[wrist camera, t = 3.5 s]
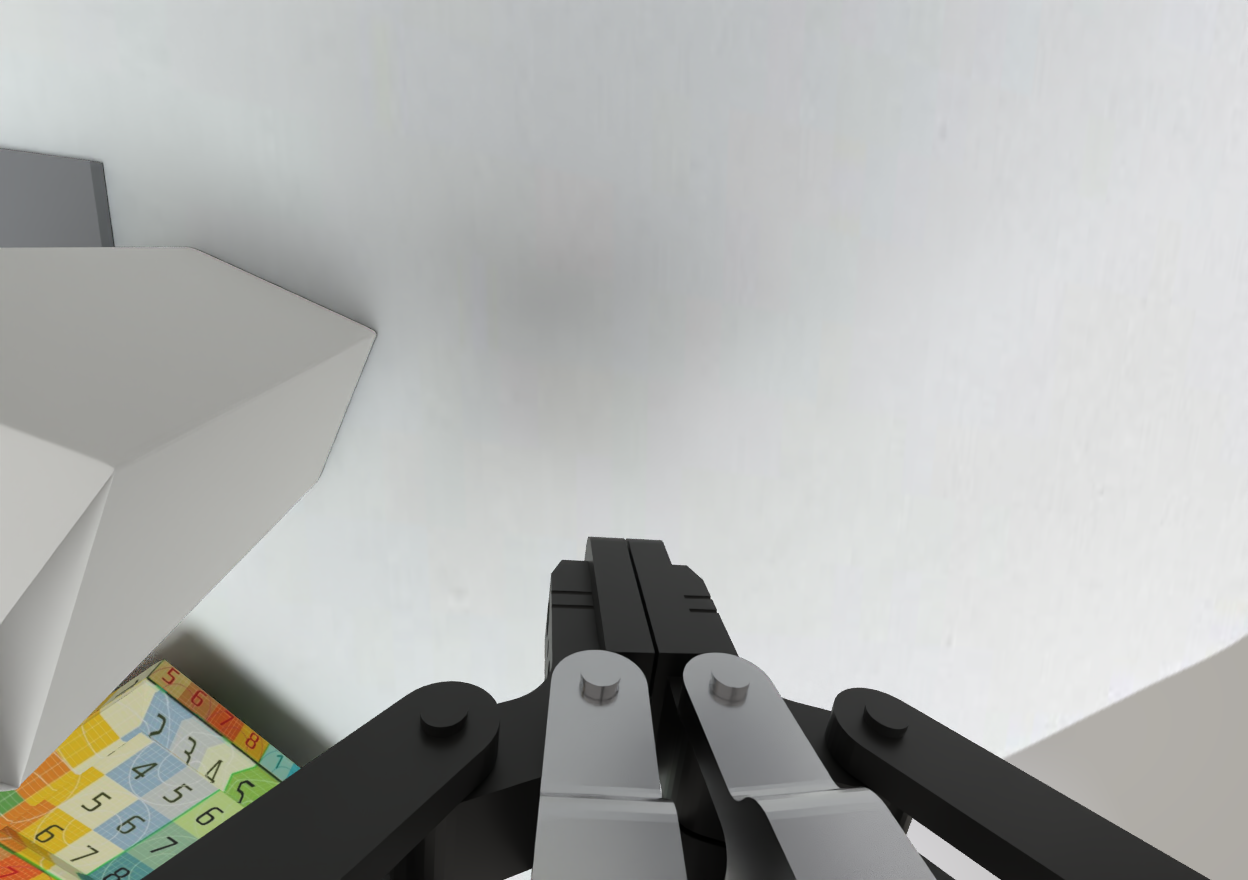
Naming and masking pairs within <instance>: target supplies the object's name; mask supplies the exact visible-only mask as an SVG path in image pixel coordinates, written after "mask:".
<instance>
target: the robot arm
mask: <svg viewBox="0 0 1248 880" xmlns="http://www.w3.org/2000/svg"><path fill="white" fill-rule="evenodd" d="M659 780H660V781H659ZM660 785H661V789H660ZM912 818H913V819H915V820H916V821H918V822H919V823H921V824H922V825H923V826H925V827H927V828H928V829H929V830H931V831H932V832H933V833H935V834H936V835H938V836H939V837H941V838H942V839H944V840H945V841H946V842H948V843H949V844H951V845H952V846H953V847H955V848H956V849H958V850H959V851H961V852H962V853H963V854H965V855H966V856H968V857H969V858H971V859H972V860H973V861H975V862H976V863H978V864H979V865H981V866H982V867H983V868H985V869H986V870H988V871H989V872H991V873H992V874H993V875H995V876H997V877H998V878H999V879H1001V880H1210V879H1208V878H1207V877H1205V876H1203V875H1201V874H1200V873H1198V872H1196V871H1194V870H1193V869H1191V868H1189V867H1187V866H1186V865H1184V864H1182V863H1181V862H1179V861H1177V860H1175V859H1174V858H1172V857H1170V856H1169V855H1167V854H1165V853H1163V852H1162V851H1160V850H1158V849H1156V848H1155V847H1153V846H1151V845H1150V844H1148V843H1146V842H1144V841H1143V840H1141V839H1139V838H1137V837H1136V836H1134V835H1132V834H1131V833H1129V832H1127V831H1125V830H1123V829H1122V828H1120V827H1118V826H1117V825H1115V824H1113V823H1112V822H1109V821H1108V820H1106V819H1105V818H1103V817H1101V816H1099V815H1098V814H1096V813H1094V812H1092V811H1091V810H1089V809H1087V808H1086V807H1084V806H1082V805H1081V804H1079V803H1077V802H1075V801H1074V800H1072V799H1070V798H1068V797H1067V796H1065V795H1063V794H1062V793H1059V792H1058V791H1056V790H1055V789H1053V788H1051V787H1049V786H1047V785H1046V784H1044V783H1042V782H1041V781H1039V780H1037V779H1036V778H1034V777H1032V776H1030V775H1029V774H1027V773H1025V772H1024V771H1022V770H1020V769H1018V768H1017V767H1015V766H1013V765H1011V764H1010V763H1008V762H1006V761H1005V760H1003V759H1001V758H999V757H998V756H996V755H994V754H992V753H991V752H989V751H987V750H986V749H984V748H982V747H980V746H979V745H977V744H975V743H973V742H972V741H970V740H968V739H967V738H965V737H963V736H961V735H960V734H958V733H956V732H954V731H953V730H951V729H949V728H948V727H946V726H944V725H942V724H941V723H939V722H937V721H936V720H934V719H932V718H930V717H929V716H927V715H925V714H923V713H922V712H920V711H918V710H917V709H915V708H913V707H911V706H910V705H908V704H906V703H904V702H903V701H901V700H899V699H897V698H895V697H893V696H891V695H889V694H886V693H883V692H880V691H877V690H873V689H868V688H851V689H847V690H844V691H842V692H841V693H839V694H838V695H837V697H836V698H835V701H834V704H833V707H832V711H828V710H824V709H821V708H817V707H813V706H809V705H805V704H801V703H797V702H794V701H790V700H787V699H785V698H782V697H781V695H780V694H779V692H778V691H777V689H776V687H775V686H774V684H773V682H772V681H771V680H770V678H769V677H768V676H767V675H766V674H765V673H764V671H762V670H761V669H760V668H759V667H757V666H756V665H754V664H753V663H751V662H749V661H747V660H745V659H743V658H741V657H739V656H738V654H737V652H736V650H735V648H734V645H733V643H732V641H731V639H730V637H729V635H728V633H727V630H726V628H725V626H724V624H723V622H722V620H721V618H720V615H719V613H717V609H716V607H715V605H714V603H713V600H712V599H710V594H709V592H708V590H707V588H706V585H705V583H704V581H703V580H702V579H701V578H700V577H699V576H698V575H697V574H696V573H694V572H693V571H692V570H691V569H690V568H689V567H688V566H686V565H672V564H671V561H670V559H669V556H668V554H667V551H666V549H665V546H664V543H663V542H662V541H661V540H645V539H626V540H625V539H624V538H605V537H588V540H587V545H586V553H585V561H574V560H561V562H560V563H559V564H558V566H557V567H556V568H555V570H554V571H553V572H552V573H551V582H550V592H549V603H548V613H547V623H546V634H545V681H544V682H543V683H542V684H541V685H540V686H539V687H538V688H537V689H535V690H534V691H532V692H530V693H529V694H527V695H525V696H522V697H520V698H517V699H514V700H510V701H506V702H502V703H499V704H497V703H496V701H495V700H494V698H493V697H492V696H491V695H490V694H489V693H488V692H486V691H485V690H484V689H482V688H480V687H478V686H475V685H472V684H469V683H464V682H455V681H448V682H439V683H434V684H430V685H427V686H423V687H421V688H419V689H417V690H415V691H413V692H411V693H410V694H408V695H406V696H405V697H403V698H402V699H401V700H399V701H398V702H396V703H395V704H393V705H392V706H390V707H389V708H388V709H386V710H385V711H383V712H382V713H380V714H379V715H377V716H376V717H374V718H373V719H372V720H370V721H369V722H367V723H366V724H364V725H363V726H361V727H360V728H359V729H357V730H356V731H354V732H353V733H351V734H350V735H348V736H347V737H346V738H344V739H343V740H341V741H340V742H338V743H337V744H335V745H334V746H333V747H331V748H330V749H328V750H327V751H325V752H324V753H322V754H321V755H320V756H318V757H317V758H315V759H314V760H312V761H311V762H309V763H308V764H307V765H305V766H304V767H302V768H301V769H299V770H298V771H296V772H295V773H294V774H292V775H291V776H289V777H288V778H286V779H285V780H283V781H282V782H281V783H279V784H278V785H276V786H275V787H273V788H272V789H270V790H269V791H268V792H266V793H265V794H263V795H262V796H260V797H259V798H257V799H256V800H255V801H253V802H252V803H250V804H249V805H247V806H246V807H244V808H243V809H242V810H240V811H239V812H237V813H236V814H234V815H233V816H231V817H230V818H229V819H227V820H226V821H224V822H223V823H221V824H220V825H218V826H217V827H216V828H214V829H213V830H211V831H210V832H208V833H207V834H205V835H204V836H203V837H201V838H200V839H198V840H197V841H195V842H194V843H192V844H191V845H190V846H188V847H187V848H185V849H184V850H182V851H181V852H179V853H178V854H177V855H175V856H174V857H172V858H171V859H169V860H168V861H166V862H165V863H164V864H162V865H161V866H159V867H158V868H156V869H155V870H153V871H152V872H151V873H149V874H148V875H146V876H145V877H143V878H142V879H140V880H504V879H507V878H509V877H512V876H514V875H517V874H519V873H522V872H524V871H527V870H529V869H532V873H531V880H955V879H954V878H952V877H951V876H949V875H948V874H947V873H945V872H944V871H942V870H941V869H940V868H939V867H937V866H936V865H934V864H933V863H932V862H930V861H929V860H928V859H926V858H925V857H924V856H922V855H921V854H919V853H918V852H917V850H916V849H915V847H914V846H913V844H912V843H911V842H910V840H909V839H908V837H907V836H906V834H907V831H908V829H909V826H910V823H911V820H912Z"/></svg>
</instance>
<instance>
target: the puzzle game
mask: <svg viewBox="0 0 1248 880" xmlns="http://www.w3.org/2000/svg"><path fill="white" fill-rule="evenodd" d="M299 769H301V768H300V767H298V766H297V765H296V764H295V763H293V762H292V761H291V760H290V759H288V758H287V757H286V756H285V755H283V754H282V753H281V752H280V751H278V750H277V749H276V748H275V747H273V746H272V745H271V744H270V743H268V742H267V741H266V740H265V739H263V738H262V737H261V736H260V735H258V734H257V733H256V732H255V731H253V730H252V729H251V728H250V727H248V726H247V725H246V724H245V723H243V722H242V721H241V720H240V719H238V718H237V717H236V716H235V715H233V714H232V713H231V712H230V711H228V710H227V709H226V708H225V707H223V706H222V705H221V704H220V703H218V702H217V701H216V700H215V699H213V698H212V697H211V696H210V695H208V694H207V693H206V692H205V691H203V690H202V689H201V688H200V687H198V686H197V685H196V684H195V683H193V682H192V681H191V680H190V679H188V678H187V677H186V676H185V675H183V674H182V673H181V672H180V671H178V670H177V669H176V668H175V667H173V666H172V665H171V664H170V663H168V662H167V661H166V660H165V659H163V660H161V661H159V662H157V663H156V664H154V665H153V666H151V667H150V668H148V669H147V670H145V671H144V672H142V673H141V674H139V675H138V676H136V677H135V678H133V679H132V680H131V681H129V682H128V683H126V684H125V685H123V686H122V687H120V688H119V689H117V690H116V691H114V692H113V693H111V694H110V695H109V696H108V697H107V698H106V699H105V700H104V701H103V702H102V703H101V704H100V705H99V706H98V707H97V708H96V709H95V710H94V711H93V712H92V713H91V714H90V715H89V716H88V717H87V718H86V719H85V720H84V721H83V722H82V723H81V724H80V725H79V726H78V727H77V728H76V729H75V730H74V731H73V732H72V733H71V734H70V736H69V737H68V738H67V739H66V740H65V741H64V742H63V743H62V744H61V745H60V746H59V747H58V748H57V749H56V750H55V751H54V752H53V753H52V754H51V755H50V756H49V757H48V758H47V759H46V760H45V761H44V762H43V763H42V764H41V765H40V766H39V767H38V768H37V769H36V770H35V771H34V772H33V773H32V774H31V775H30V776H29V777H28V778H27V779H26V780H25V781H24V782H23V783H22V784H21V785H20V787H19V788H18V789H16V790H10V791H1V792H0V880H140V879H142V878H143V877H145V876H146V875H148V874H149V873H151V872H152V871H153V870H155V869H156V868H158V867H159V866H161V865H162V864H164V863H165V862H166V861H168V860H169V859H171V858H172V857H174V856H175V855H177V854H178V853H179V852H181V851H182V850H184V849H185V848H187V847H188V846H190V845H191V844H192V843H194V842H195V841H197V840H198V839H200V838H201V837H203V836H204V835H205V834H207V833H208V832H210V831H211V830H213V829H214V828H216V827H217V826H218V825H220V824H221V823H223V822H224V821H226V820H227V819H229V818H230V817H231V816H233V815H234V814H236V813H237V812H239V811H240V810H242V809H243V808H244V807H246V806H247V805H249V804H250V803H252V802H253V801H255V800H256V799H257V798H259V797H260V796H262V795H263V794H265V793H266V792H268V791H269V790H270V789H272V788H273V787H275V786H276V785H278V784H279V783H281V782H282V781H283V780H285V779H286V778H288V777H289V776H291V775H292V774H294V773H295V772H296V771H298V770H299Z"/></svg>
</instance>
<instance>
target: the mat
mask: <svg viewBox="0 0 1248 880" xmlns="http://www.w3.org/2000/svg"><path fill="white" fill-rule="evenodd" d="M44 247H114V244H113V237H112V230H111V223H110V215H109V208H108V201H107V194H106V187H105V179H104V172H103V165H102V163H100V162H95V161H89V160H82V159H75V158H67V157H60V156H53V155H45V154H38V153H31V152H23V151H16V150H9V149H1V148H0V248H44Z"/></svg>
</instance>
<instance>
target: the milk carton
mask: <svg viewBox="0 0 1248 880" xmlns="http://www.w3.org/2000/svg"><path fill="white" fill-rule="evenodd" d="M375 337H376V333H375V331H373V330H372V329H370V328H368V327H366V326H364V325H362V324H359V323H357V322H355V321H353V320H351V319H349V318H346V317H344V316H342V315H340V314H338V313H335V312H333V311H331V310H329V309H327V308H324V307H322V306H320V305H318V304H316V303H313V302H311V301H309V300H307V299H305V298H302V297H300V296H298V295H296V294H294V293H292V292H289V291H287V290H285V289H283V288H281V287H278V286H276V285H274V284H272V283H270V282H267V281H265V280H263V279H261V278H259V277H256V276H254V275H252V274H250V273H248V272H245V271H243V270H241V269H239V268H237V267H234V266H232V265H230V264H228V263H226V262H224V261H221V260H219V259H217V258H215V257H212V256H210V255H208V254H206V253H203V252H201V251H199V250H196V249H194V248H190V247H44V248H0V792H1V791H10V790H16V789H18V788H19V787H20V785H21V784H22V783H23V782H24V781H25V780H26V779H27V778H28V777H29V776H30V775H31V774H32V773H33V772H34V771H35V770H36V769H37V768H38V767H39V766H40V765H41V764H42V763H43V762H44V761H45V760H46V759H47V758H48V757H49V756H50V755H51V754H52V753H53V752H54V751H55V750H56V749H57V748H58V747H59V746H60V745H61V744H62V743H63V742H64V741H65V740H66V739H67V738H68V737H69V736H70V734H71V733H72V732H73V731H74V730H75V729H76V728H77V727H78V726H79V725H80V724H81V723H82V722H83V721H84V720H85V719H86V718H87V717H88V716H89V715H90V714H91V713H92V712H93V711H94V710H95V709H96V708H97V707H98V706H99V705H100V704H101V703H102V702H103V701H104V700H105V699H106V698H107V697H108V696H109V695H110V694H111V693H112V692H113V691H114V689H115V688H116V687H117V686H118V685H119V684H120V683H121V682H122V681H123V680H124V679H125V678H126V677H127V676H128V675H129V674H130V673H131V672H132V671H133V670H134V669H135V668H136V667H137V666H138V665H139V664H140V663H141V662H142V661H143V660H144V659H145V658H146V657H147V656H148V655H149V654H150V653H151V652H152V651H153V650H154V649H155V648H156V647H157V645H158V644H159V643H160V642H161V641H162V640H163V639H164V638H165V637H166V636H167V635H168V634H169V633H170V632H171V631H172V630H173V629H174V628H175V627H176V626H177V625H178V624H179V623H180V622H181V621H182V620H183V619H184V618H185V617H186V616H187V615H188V614H189V613H190V612H191V611H192V610H193V609H194V608H195V607H196V606H197V605H198V604H199V602H200V601H201V600H202V599H203V598H204V597H205V596H206V595H207V594H208V593H209V592H210V591H211V590H212V589H213V588H214V587H215V586H216V585H217V584H218V583H219V582H220V581H221V580H222V579H223V578H224V577H225V576H226V575H227V574H228V573H229V572H230V571H231V570H232V569H233V568H234V567H235V566H236V565H237V564H238V563H239V562H240V561H241V559H242V558H243V557H244V556H245V555H246V554H247V553H248V552H249V551H250V550H251V549H252V548H253V547H254V546H255V545H256V544H257V543H258V542H259V541H260V540H261V539H262V538H263V537H264V536H265V535H266V534H267V533H268V532H269V531H270V530H271V529H272V528H273V527H274V526H275V525H276V524H277V523H278V522H279V521H280V520H281V519H282V518H283V516H284V515H285V514H286V513H287V512H288V511H289V510H290V509H291V508H292V507H293V506H294V505H295V504H296V503H297V502H298V501H299V500H300V499H301V498H302V497H303V496H304V495H305V494H306V493H307V492H308V491H309V490H310V489H311V488H312V487H313V486H314V485H315V484H316V482H317V481H318V480H319V477H320V475H321V472H322V470H323V467H324V465H325V462H326V460H327V457H328V455H329V452H330V450H331V447H332V445H333V442H334V440H335V437H336V435H337V432H338V430H339V427H340V425H341V422H342V420H343V417H344V415H345V412H346V410H347V407H348V405H349V402H350V400H351V397H352V395H353V392H354V390H355V387H356V385H357V382H358V380H359V377H360V375H361V372H362V370H363V367H364V365H365V362H366V360H367V357H368V355H369V352H370V350H371V347H372V345H373V342H374V340H375Z"/></svg>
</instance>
